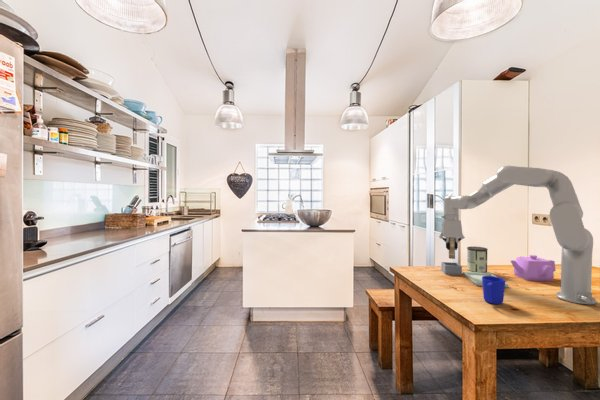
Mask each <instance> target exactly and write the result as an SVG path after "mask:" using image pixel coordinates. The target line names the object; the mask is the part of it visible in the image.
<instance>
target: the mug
mask: <svg viewBox="0 0 600 400" xmlns="http://www.w3.org/2000/svg"><path fill="white" fill-rule="evenodd" d="M505 282H506V279H504V277H503V278H502V277H498V276H496V277H494V276H483V277H482V284H483V286H482V294H483V301H485V302H487V303H489V304H493V305H500V304H501V305H502V304H503V302H504V296H505Z"/></svg>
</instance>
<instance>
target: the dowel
mask: <svg viewBox="0 0 600 400" xmlns="http://www.w3.org/2000/svg"><path fill="white" fill-rule="evenodd" d="M449 243H450V250H448V258H449V259H450V260H456V250H455V238H449Z"/></svg>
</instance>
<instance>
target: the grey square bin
mask: <svg viewBox="0 0 600 400" xmlns="http://www.w3.org/2000/svg"><path fill="white" fill-rule="evenodd" d="M440 262H441V263H440V270H441V272H442V273H444V275H450V276H451V275H452V276H463V266H462V265H461V264H459V263H458V262H448V261H440Z"/></svg>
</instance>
